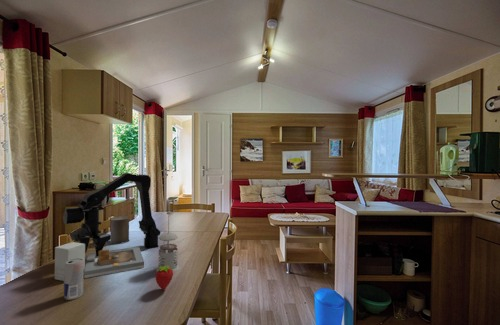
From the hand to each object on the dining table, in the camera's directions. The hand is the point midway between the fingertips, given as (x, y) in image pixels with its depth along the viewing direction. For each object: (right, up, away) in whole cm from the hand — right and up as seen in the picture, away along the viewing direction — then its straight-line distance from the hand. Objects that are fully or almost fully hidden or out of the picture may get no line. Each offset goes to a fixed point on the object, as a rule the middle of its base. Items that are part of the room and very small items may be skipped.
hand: (91, 254), depth 115 cm
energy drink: (+13, -4, -29) cm, 32 cm away
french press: (+37, -4, -5) cm, 37 cm away
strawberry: (+42, -4, -24) cm, 48 cm away
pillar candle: (-3, -4, +30) cm, 31 cm away
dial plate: (+12, -4, -1) cm, 12 cm away
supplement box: (+1, -4, -15) cm, 15 cm away
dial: (+12, -2, -1) cm, 12 cm away
